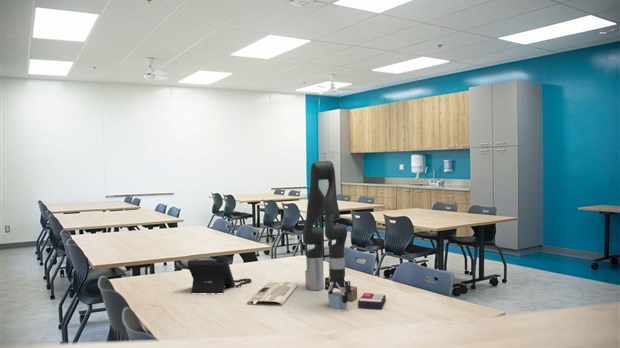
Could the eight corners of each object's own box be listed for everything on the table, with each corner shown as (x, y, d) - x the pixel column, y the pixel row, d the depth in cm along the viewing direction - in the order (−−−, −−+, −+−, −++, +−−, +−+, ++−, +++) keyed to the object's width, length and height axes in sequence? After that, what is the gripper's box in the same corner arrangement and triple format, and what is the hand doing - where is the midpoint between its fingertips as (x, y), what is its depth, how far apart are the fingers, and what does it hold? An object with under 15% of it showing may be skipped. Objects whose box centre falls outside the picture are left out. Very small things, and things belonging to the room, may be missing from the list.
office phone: (253, 280, 266) (252, 246, 266) (241, 294, 238) (240, 256, 238) (205, 280, 269) (204, 247, 269) (187, 294, 241) (186, 256, 241)
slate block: (329, 306, 213) (328, 294, 213) (337, 303, 218) (337, 291, 217) (338, 309, 209) (338, 296, 209) (347, 306, 213) (346, 293, 213)
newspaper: (268, 285, 256) (267, 280, 256) (301, 286, 252) (301, 281, 252) (247, 305, 219) (246, 300, 219) (285, 307, 216) (285, 301, 216)
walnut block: (341, 300, 223) (340, 288, 223) (346, 297, 228) (346, 285, 228) (352, 302, 220) (352, 289, 220) (357, 298, 225) (356, 286, 225)
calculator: (385, 293, 221) (381, 300, 207) (385, 302, 221) (381, 310, 207) (363, 292, 224) (357, 299, 210) (363, 300, 224) (357, 308, 210)
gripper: (320, 266, 215) (321, 300, 215) (343, 270, 205) (344, 305, 205) (331, 263, 220) (331, 296, 220) (353, 267, 210) (354, 302, 211)
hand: (337, 301), depth 213 cm, fingers open, 8 cm apart
